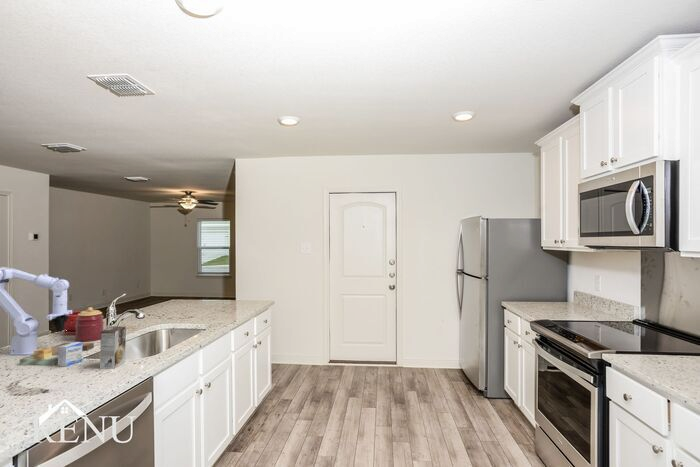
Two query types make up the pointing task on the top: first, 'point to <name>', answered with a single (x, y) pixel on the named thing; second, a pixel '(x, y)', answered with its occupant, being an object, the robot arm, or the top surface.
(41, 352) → the block
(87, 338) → the canister
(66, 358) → the medicine box
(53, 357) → the wooden slab structure
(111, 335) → the coffee box
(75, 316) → the plant pot
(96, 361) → the top surface
